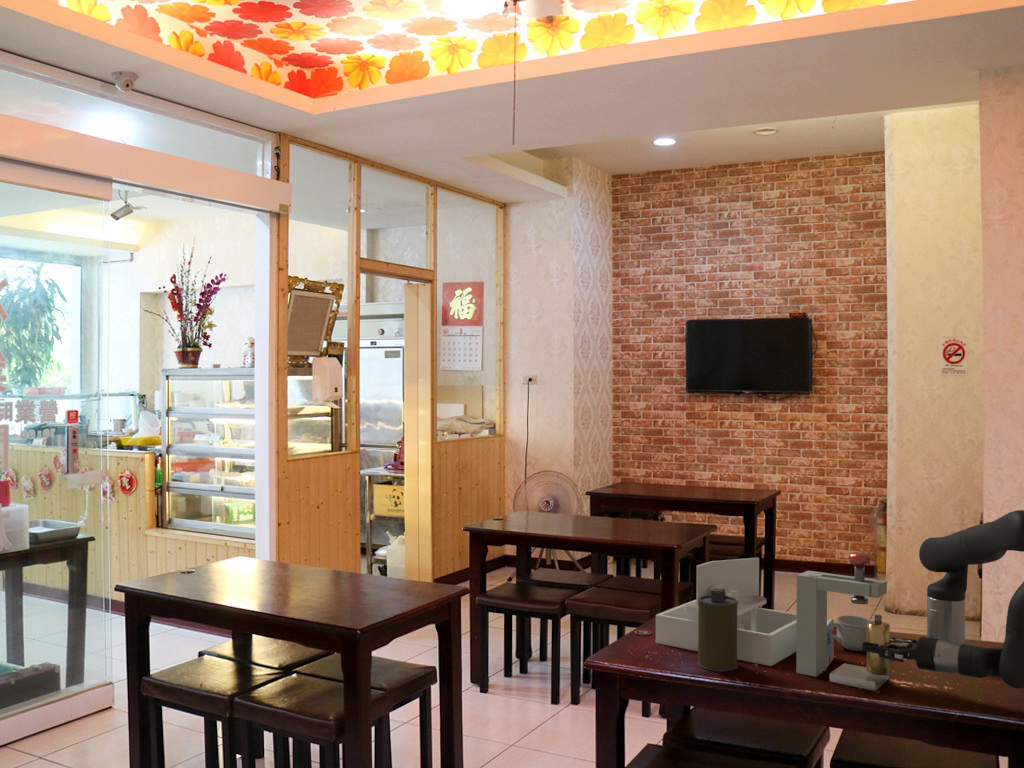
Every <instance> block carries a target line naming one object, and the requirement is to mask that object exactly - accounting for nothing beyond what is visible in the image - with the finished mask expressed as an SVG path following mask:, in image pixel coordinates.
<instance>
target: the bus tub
mask: <svg viewBox="0 0 1024 768" xmlns="http://www.w3.org/2000/svg"><path fill="white" fill-rule="evenodd" d="M694 601H696V599H693V600H691V601H688V602H685V603H684V604H681V605H678V606H674V607H672V608H670V609H667V610H665V611H662V612H660V613H657V614H655V643H656V644H659V645H663V646H670V647H675V648H679V649H684V650H689V651H693V652H698V612H694V611H688V610H685V605H686V604H688V603H691V602H694ZM795 653H797V613H795V612H794V613H793V612H788V611H782V610H774V609H769V608H762V607H757V632H755V631H749V630H744V629H738V628H737V661H738V660H739V661H744V662H749V663H753V664H759V665H764V666H768V667H772V666H774V665H776V664H777V663H779V662H782V660H784V659H785V658H787V657H789V656H791V655H793V654H795Z"/></svg>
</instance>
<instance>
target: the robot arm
mask: <svg viewBox="0 0 1024 768" xmlns="http://www.w3.org/2000/svg"><path fill="white" fill-rule="evenodd" d="M1007 551H1012V552H1013V551H1014V552H1020V553H1021V552H1023V553H1024V509H1019V510H1018V509H1017V510H1013V511H1010V512H1008V513H1006V514H1004V515H1002V516H1001V517H998V518H997V519H995V520H993V521H988V522H984V523H980V524H976V525H973V526H970V527H968V528H965V529H961V530H959V531H956V532H953V533H951V534H948V535H946V536H938V537H935V536H933V537H928V538H926V539H925V540H924V541H923V542H922V543H921V545H920V548H919V550H918V557H919V561H920V563H921V564H922V566H923V567H924V568H925V569H926V570H927V571H929V572H934V573H945V575H944V576H943V577H942V578H941V579H939V580H938V581H934V582H932V583H930V584H929V585H928V586H927V587H926V637H925V636H920V637H919V638H918V639H912V638H903V637H895V636H891V637H890V640H889V644H888V645H885V644H876V643H870V642H863V644H862V648H863V651H862V652H866V653H867V652H871V653H877V654H878V655H879V657H881V658H885V659H889V661H890V660H891V661H894V662H898V663H904V661H910V660H914V661H915V664H916V666H917V668H918V669H920V670H925V671H931V672H936V673H942V674H946V675H947V674H948V675H957V676H958V675H960V676H967V677H971V678H976V679H977V678H979V679H984V678H987V677H996V678H997V677H999V678H1001V679H1002V681H1003V682H1004V683H1005V684H1006V685H1007V686H1009V687H1011V688H1015V689H1024V581H1023V582H1022V583H1021V584H1020V586H1019V587H1018V588H1017V589H1016V590H1015V591H1014V593H1013V595H1012V596H1011V598H1010V600H1009V602H1008V607H1007V614H1006V624H1005V634H1004V640H1003V645H1002V648H1001V647H1000V648H999V647H981V646H977V645H971V644H966V594H967V593H966V592H967V590H968V589H967V588H968V571H969V566H971V565H972V566H973V565H975V566H976V565H984V564H989V563H993V562H997V561H998V560H1000V559H1002V558H1003V557H1004V556H1005V555H1006V553H1007ZM884 650H886V651H888V653H885V652H884Z"/></svg>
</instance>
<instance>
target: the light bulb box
mask: <svg viewBox="0 0 1024 768" xmlns="http://www.w3.org/2000/svg"><path fill="white" fill-rule="evenodd" d="M834 620H835V619H834V618H830V617H829V618H828V617H827V667H828V666H829V665H830V664H831V662H832V661H833V660H834V658H835V657H834V653H835V651H834V649H835V647H834V643H835V641H834V640H835V638H834V634H835V632H834V631H835V629H834V628H835V626H834V622H835V621H834Z"/></svg>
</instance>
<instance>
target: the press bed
mask: <svg viewBox="0 0 1024 768" xmlns="http://www.w3.org/2000/svg"><path fill="white" fill-rule="evenodd" d="M889 677H890V674H889V675H885V676H879V675H873V674H870V673H868V672H867V666H861V665H855V664H849V663H843V664H841V665H840V666H838V667H837V668H835V669H834V670H832V671H831V672H830V673H829V682H830V683H835V684H840V685H845V686H850V687H854V688H860V689H865V690H869V691H872V692H873V691H875V692H876V691H877V690H878V689H879V688H881V687H882V686H883V685H884V684H885V683H886V682H888V681H889V680H888V679H889ZM887 680H888V681H887ZM883 683H884V684H883ZM881 685H882V686H881Z"/></svg>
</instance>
